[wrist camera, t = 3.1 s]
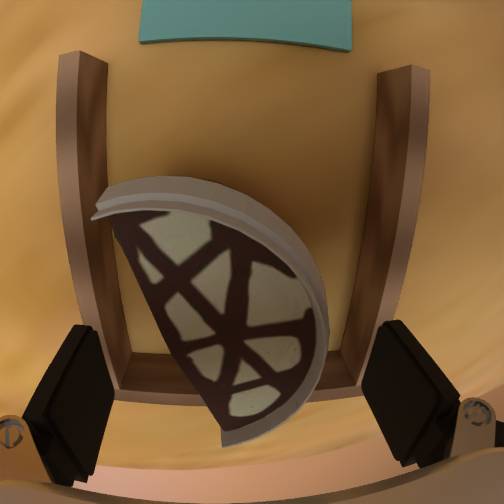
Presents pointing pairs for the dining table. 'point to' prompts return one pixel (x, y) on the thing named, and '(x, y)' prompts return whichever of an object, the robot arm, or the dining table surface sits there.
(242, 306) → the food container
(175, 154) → the dining table surface
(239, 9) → the mat
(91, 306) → the frame
